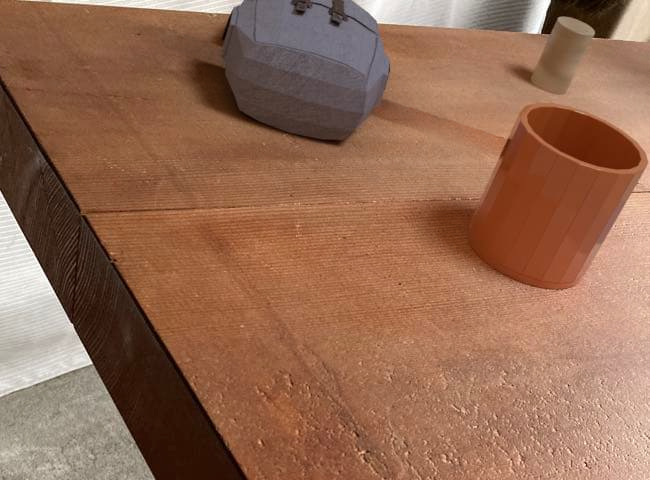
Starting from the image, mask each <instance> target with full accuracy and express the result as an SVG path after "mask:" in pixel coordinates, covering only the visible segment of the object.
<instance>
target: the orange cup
mask: <svg viewBox="0 0 650 480" xmlns="http://www.w3.org/2000/svg"><path fill="white" fill-rule="evenodd" d="M648 165H649V159H648V155H647V152H646V151H645V150H644V148H642V146H641V145H640V144H639V142H638V141H636V140H635V139H634V137H632V136H631V135H629V134H628V133H627V132H626V131H624V130H623V129H621V128H619V127H617V126H616V125H615V124H613V123H612V122H609V121H607V120H606V119H603V118H601V117H599V116H597V115H594V114H593V113H590V112H587V111H584V110H581V109H578V108H576V107H572V106H569V105H564V104H558V103H555V102H554V103H553V102H534V103H530V104H527V105H525V106H524V107H523V108H522V109H521V110H520V111H519V113H518V115H517V117H516V120H515V122H514V124H513V126H512V129H511V130H510V133H509V135H508V137H507V139H506V141H505V144H504V146H503V147H502V150H501V152H500V154H499V157H498V159H497V160H496V163H495V165H494V168H493V169H492V172H491V175H490V177H489V179H488V181H487V183H486V186H485V188H484V189H483V193H482V194H481V196H480V198H479V201H478V203H477V205H476V207H475V209H474V212H473V214H472V217H471V218H470V221H469V224H468V226H467V230H466V237H467V240H468V243H469V244H470V247H471V248H472V250H473V251H474V252H475V253H476V255H478V256H479V258H481V260H483V261H484V262H485V263H486V264H488V265H489V266H490V267H491V268H493V269H495V270H496V271H498V272H500V273H501V274H503V275H504V276H507V277H509V278H511V279H513V280H516V281H518V282H520V283H523V284H526V285H528V286H529V285H530V286H533V287H536V288H541V289H549V290H564V289H569V288H572V287H574V286H576V285H578V284H579V283H580V282H581V281H582V280H583V278H584V277H585V275H586V274H587V272H588V270H589V268H590V266H591V264H592V263H593V261H594V259H595V257H596V255H597V254H598V253H599V251H600V249H601V247H602V245H603V244H604V242H605V240H606V238H607V236H608V235H609V233H610V232H611V230H612V229H613V226H614V224H615V223H616V221H617V219H618V218H619V216H620V214H621V212H622V210H623V208H624V207H625V205H626V204H627V202H628V200H629V198H630V197H631V196H632V193H633V191H634V190H635V188H636V187H637V185H638V182H639V181H640V179H641V177H642V176H643V174H644V173H645V171H646V168H647V166H648Z"/></svg>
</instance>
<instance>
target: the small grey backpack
mask: <svg viewBox="0 0 650 480" xmlns="http://www.w3.org/2000/svg"><path fill="white" fill-rule="evenodd" d="M220 42H223V44H222V49H221V54H220V55H221V56H220V57H221V59H222V60H223V61H224V63H225V71H224V73H225V74H224V75H225V77H226V80H227V82H228V84H229V87H230V89H231V92H232V93H233V95H234V99H235V102H236V104H237V108H238V110H239V111H240V112H243V114H245V115H247V116H249V117H251V118H252V119H254V120H256V121H257V122H259V123H262V124H265V125H268V126H270V127H273V128H276V129H277V130H281V131H283V132H286V133H289V134H292V135H293V134H294V135H299V136H304V137H307V138H313V139H318V140H330V141H331V140H332V141H334V140H335V141H336V140H337V141H344V140H345V139H347V137H349V136H350V135H351V134H353V133H354V132H355V131H356V130H357V129H358V128H359V127H360V126H361V125H362V124H363V123H364V122H365V121H366V120H367V119H368V118H370V115H371V113H372V111H373V109H374V107H378V106H380V105H381V102H382V98H383V95H384V92H385V90H386V88H387V87H386V86H387V84H388V80H389V77H390V73H391V59H390V56H389V55H387V53H385V47H384V46H385V45H384V41H383V38H382V37H381V34H380V30H379V25H378V21H377V20H376V18H375V17H373V15H371V13H370V12H369V11H367V10H366V9H365V8H363V7H361V6H360V5H359V4H358V3H356V2H355V1H354V0H242V1H241V3H240V4H238V5H236V6H233V7H232V10H231V11H230V14H229V17H228V18H227V22H226V25H225V28H224V31H223V34H222V37H221V40H220Z"/></svg>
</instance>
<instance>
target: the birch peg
mask: <svg viewBox="0 0 650 480" xmlns="http://www.w3.org/2000/svg"><path fill="white" fill-rule="evenodd" d="M595 34H596V31H595V29H594V28H593V27H592V26H590V25H589V24H587V23H585V22H583V21H581V20H579V19H576V18H574V17H571V16H559V17H557V19H556V20H555V24H554V25H553V28H552V30H551V32H550V34H549V36H548V38H547V41H546V43H545V46H544V47H543V50H542V52H541V54H540V57H539V59H538V61H537V63H536V64H535V65H536V66H535V68H534V69H533V72H532V75H531V76H530V82H531V83H532V84H533V85H534V86H535V87H537V88H538V89H540V90H542V91H544V92H546V93H549V94H553V95H557V96H564V95H566V94H567V92H568V90H569V88H570V86H571V84H572V81H573V80H574V78H575V76H576V74H577V72H578V69H579V68H580V66H581V64H582V61H583V59H584V57H585V55H586V53H587V51H588V49H589V47H590V44H591V43H592V40H593V38H594V37H595Z"/></svg>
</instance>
